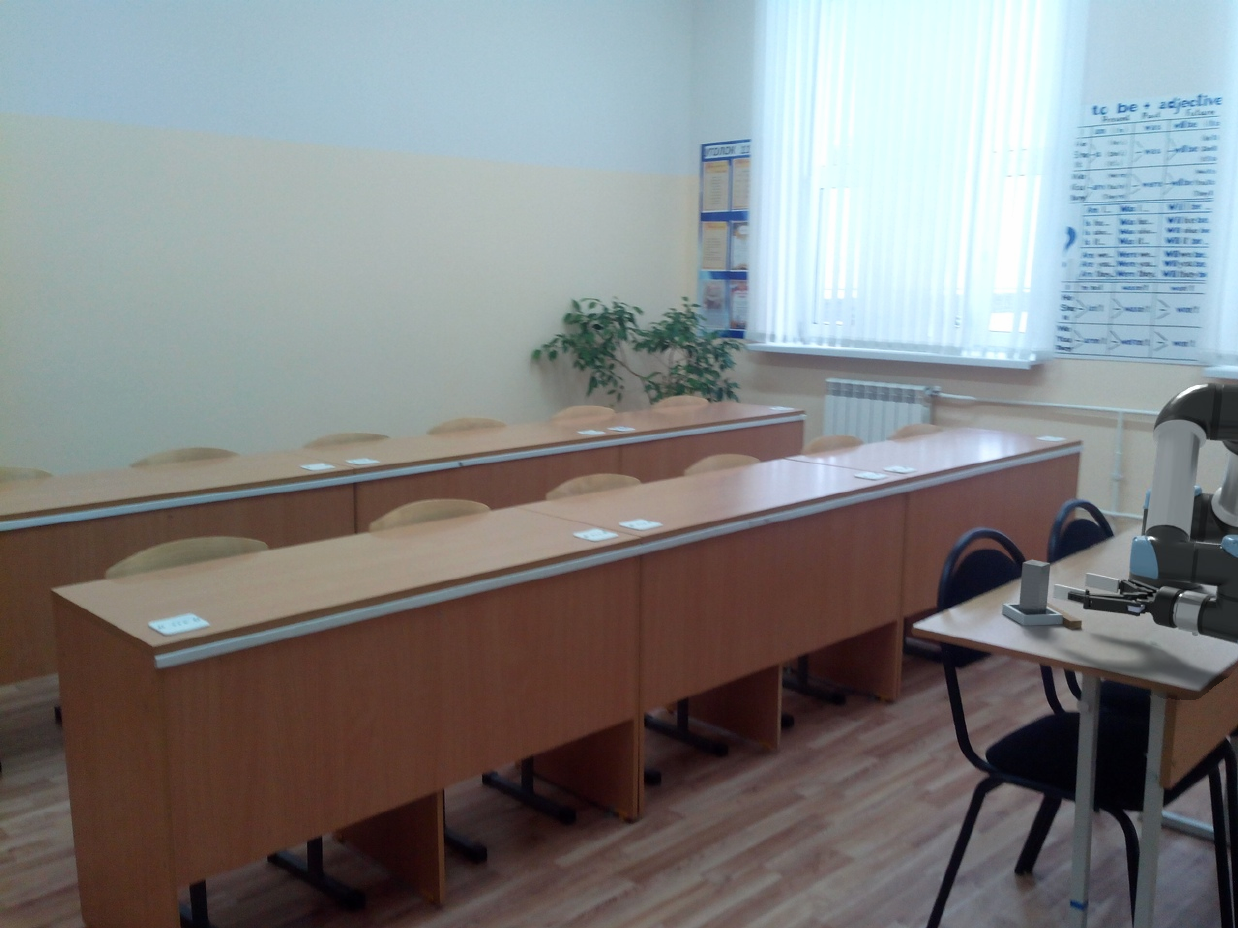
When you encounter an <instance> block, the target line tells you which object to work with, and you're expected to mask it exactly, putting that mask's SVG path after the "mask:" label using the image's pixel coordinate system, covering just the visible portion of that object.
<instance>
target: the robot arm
mask: <svg viewBox="0 0 1238 928" xmlns="http://www.w3.org/2000/svg"><path fill="white" fill-rule="evenodd" d="M1152 439H1153V442H1154V443H1155V444H1156V453H1155V459H1154V465H1153V466H1154V467H1153V474H1152V481H1151V488H1149V489H1148V490H1147V491H1146V492H1145V498H1144V504H1143V506H1142V509H1143V514H1142V516H1143V517H1142V526H1141V534H1140V535H1135V536H1133V537H1132V539H1131V540H1132V542H1131V545H1130V553H1129V555H1130V556H1129V570H1128V571H1129V572H1128V573H1129V574H1128V577H1129V578H1128V580H1127V579H1124V578H1123V579H1119V578H1114V577H1109V576H1106V575H1105V576H1104V575H1100V574H1097V573H1092V572H1091V573H1090V572H1086V573H1085V583H1084V586H1085V587H1088V588H1093V589H1097V590H1102V591H1105V592H1111V593H1116V594H1109V593H1094V592H1093V593H1092V592H1091V590H1090V589H1088V588H1086V589H1081V588H1077V587H1072V586H1068V585H1063V584H1059V583H1055V584H1054V585H1053V593H1052V598H1054V599H1057V600H1062V601H1066V602H1071V603H1074V604H1078V605H1082V606H1083V607H1082V609H1083V610H1092V611H1099V612H1105V613H1106V612H1107V613H1115V614H1122V615H1129V616H1135V617H1140V616H1141V615H1142V614H1143V615H1144V614H1146V613H1147V614H1148V613H1149V614H1151V617H1152V620H1153V622H1154V624H1156V625H1157V626H1162V627H1165V628H1170V629H1176V628H1177V629H1178V630H1180V631H1184V632H1189V633H1191V634H1192V635H1191V636H1194V637H1197V636H1198V635H1199V636H1200V635H1201V636H1205V637H1209V638H1213V639H1217V640H1221V641H1225V642H1229V643H1232V644H1237V645H1238V384H1237V383H1217V382H1204V383H1203V382H1202V383H1198V384H1195V385H1192V386H1189V387H1187V388H1185V389H1183V390H1181V391H1179V392H1177V394H1176V395H1174V396H1173V397H1171V399H1169V401H1167V403H1166V404H1165V405H1164V406H1163V407H1162V408H1161V410H1160V412H1159V413H1158V415H1157V417H1156V420H1155V422H1154V427H1153V431H1152ZM1207 440H1209V441H1214V442H1215V441H1219V442H1220V441H1221V443H1222V445H1223V446H1224V448H1225V449H1226V453H1225V460H1224V465H1223V466H1224V468H1223V472H1222V473H1223V474H1222V482H1221V487H1219V488H1218V489H1217V490H1216V491H1215V492H1214V493H1208V492H1207V493H1205V492H1203V490H1202V487H1201V486H1199V485H1196V484H1197V476H1198V465H1199V457H1200V456H1199V455H1200V449H1202V448H1203V447H1204V446H1205V444H1206V443H1207ZM1201 585H1202V586H1203V585H1204V586H1211V587H1216V593H1215V595H1216V596H1214V595H1210V594H1207V593H1201V592H1196V591H1193V590H1194V589H1197V588H1199V587H1200V586H1201ZM1118 593H1119V594H1118Z"/></svg>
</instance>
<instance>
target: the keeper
mask: <svg viewBox="0 0 1238 928" xmlns="http://www.w3.org/2000/svg"><path fill="white" fill-rule="evenodd" d="M1019 603H1020V602H1019ZM1019 603H1017V602H1016V603H1002V608H1001V611H1002V612H1001V613H1002V615H1005V616H1006V617H1009V618H1010V619H1012V620H1014V621H1015V622H1017V623H1018V624H1020V625H1022V626H1025V627H1026V626H1046V625H1047V626H1051V625H1063V624H1062V621H1063V614H1061V613H1059V612H1057V611H1055V610H1053V609H1051V608H1049V607H1047V609H1046V614H1037V615H1025V614H1024V613H1022V612H1020V611H1019Z"/></svg>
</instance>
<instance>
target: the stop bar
mask: <svg viewBox="0 0 1238 928" xmlns="http://www.w3.org/2000/svg"><path fill="white" fill-rule="evenodd" d="M1021 569H1022V570H1021V579H1020V580H1021V581H1020V591H1019V592H1020V593H1019V611H1020V612H1022V613H1024V614H1025V615H1037V614H1046V609H1047V603H1048V596H1049V595H1048V594H1049V585H1050V570H1051V563H1050V562H1046V561H1040V560H1035V559H1029V560H1027V561H1024V562H1022V567H1021Z"/></svg>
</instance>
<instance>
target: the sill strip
mask: <svg viewBox="0 0 1238 928" xmlns="http://www.w3.org/2000/svg"><path fill="white" fill-rule="evenodd" d="M1047 607H1049V608H1051V609H1053V610H1055V611H1057V612H1059V613H1061V614H1063V621H1062V624H1061V625H1064V626H1066V627H1067V628H1068V629H1080V628H1082V623H1083V620H1081V619H1079V618H1078V617H1076V616H1073V615H1072V614H1070V613H1068V612H1067V611H1064V610H1062V609H1061V608H1058V607H1056V606H1054V605H1053V604H1050V603H1048V602H1047Z"/></svg>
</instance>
